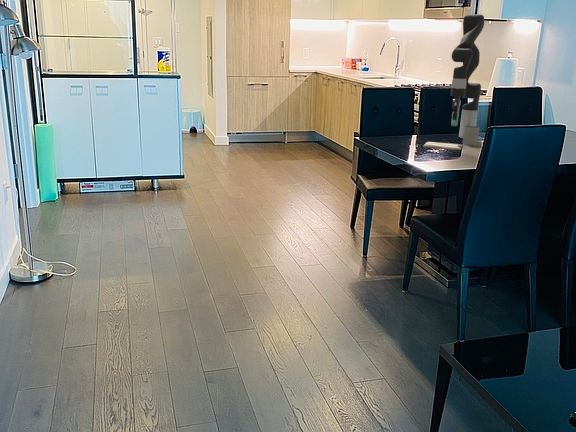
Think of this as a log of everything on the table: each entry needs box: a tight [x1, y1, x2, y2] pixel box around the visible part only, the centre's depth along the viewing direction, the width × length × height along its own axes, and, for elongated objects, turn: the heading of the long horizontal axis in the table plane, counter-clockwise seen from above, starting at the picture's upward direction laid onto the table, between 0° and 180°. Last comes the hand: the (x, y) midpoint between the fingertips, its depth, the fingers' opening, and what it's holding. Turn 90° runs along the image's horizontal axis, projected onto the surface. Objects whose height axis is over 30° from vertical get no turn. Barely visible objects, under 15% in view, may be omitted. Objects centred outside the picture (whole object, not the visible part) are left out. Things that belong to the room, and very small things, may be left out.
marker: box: [450, 104, 461, 127], centre depth 307 cm, size 4×4×12 cm
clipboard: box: [422, 141, 464, 151], centre depth 316 cm, size 14×20×2 cm
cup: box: [462, 125, 480, 146], centre depth 326 cm, size 8×8×10 cm
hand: (454, 119), depth 307 cm, fingers closed on marker, 3 cm apart
